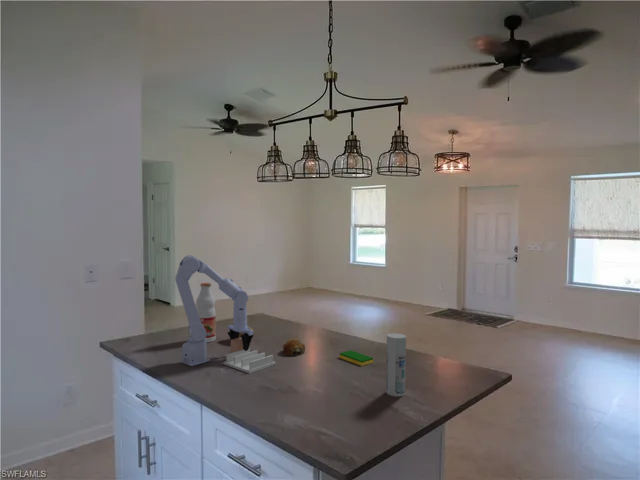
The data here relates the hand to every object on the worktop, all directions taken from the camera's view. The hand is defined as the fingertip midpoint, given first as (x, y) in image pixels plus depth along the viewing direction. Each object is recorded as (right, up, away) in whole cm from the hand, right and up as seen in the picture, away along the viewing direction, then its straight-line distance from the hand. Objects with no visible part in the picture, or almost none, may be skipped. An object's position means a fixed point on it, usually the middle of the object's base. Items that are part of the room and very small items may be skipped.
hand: (240, 349), depth 189 cm
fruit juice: (-22, -2, +25) cm, 33 cm away
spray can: (+60, -6, -38) cm, 72 cm away
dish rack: (+5, -4, -10) cm, 12 cm away
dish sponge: (+50, -5, -3) cm, 50 cm away
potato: (-4, -2, +24) cm, 24 cm away
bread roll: (+23, -4, +7) cm, 24 cm away
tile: (0, -3, 0) cm, 3 cm away
